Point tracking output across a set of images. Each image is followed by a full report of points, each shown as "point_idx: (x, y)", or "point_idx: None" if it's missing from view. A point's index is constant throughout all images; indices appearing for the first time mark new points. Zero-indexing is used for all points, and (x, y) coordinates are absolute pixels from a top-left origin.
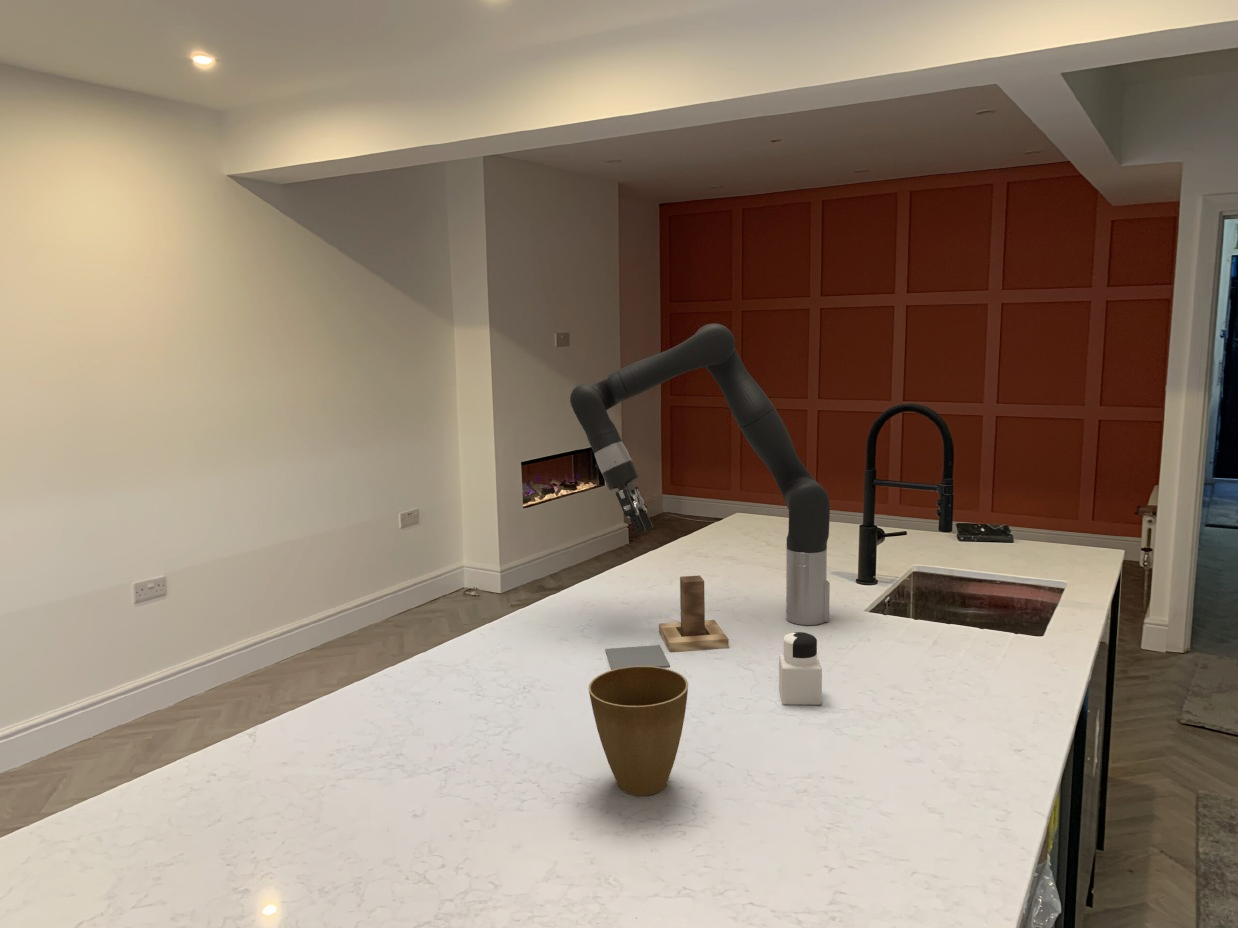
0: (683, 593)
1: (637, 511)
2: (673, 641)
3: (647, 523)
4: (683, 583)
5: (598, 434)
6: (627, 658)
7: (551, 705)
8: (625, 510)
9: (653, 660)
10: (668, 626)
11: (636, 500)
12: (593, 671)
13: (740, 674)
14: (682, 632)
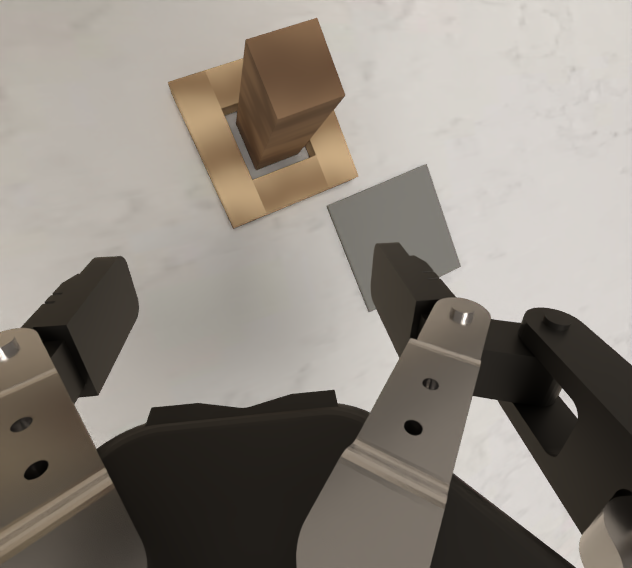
0: (320, 116)
1: (473, 314)
2: (347, 168)
3: (114, 296)
4: (333, 101)
5: None
6: (409, 253)
7: (577, 313)
8: (554, 413)
9: (410, 200)
10: (252, 198)
11: (456, 389)
12: (462, 297)
13: (434, 23)
14: (275, 159)
